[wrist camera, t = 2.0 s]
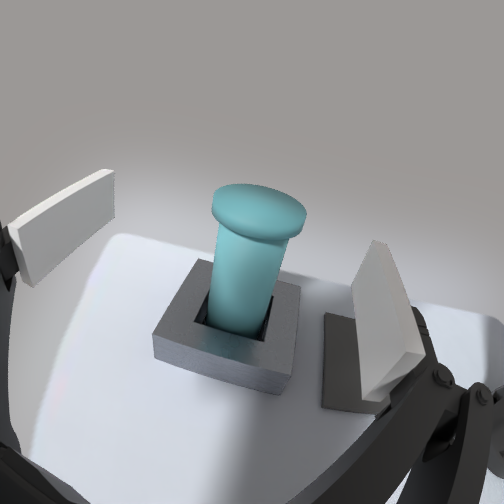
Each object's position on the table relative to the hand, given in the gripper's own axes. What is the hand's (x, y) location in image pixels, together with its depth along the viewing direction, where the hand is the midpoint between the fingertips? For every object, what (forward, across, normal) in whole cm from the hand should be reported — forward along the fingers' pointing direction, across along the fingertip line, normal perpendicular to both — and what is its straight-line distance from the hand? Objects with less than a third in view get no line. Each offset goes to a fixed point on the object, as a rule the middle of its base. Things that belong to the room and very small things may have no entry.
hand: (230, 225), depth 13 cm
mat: (+10, +19, -18) cm, 28 cm away
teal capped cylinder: (+10, +1, -19) cm, 21 cm away
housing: (+10, +1, -18) cm, 21 cm away
